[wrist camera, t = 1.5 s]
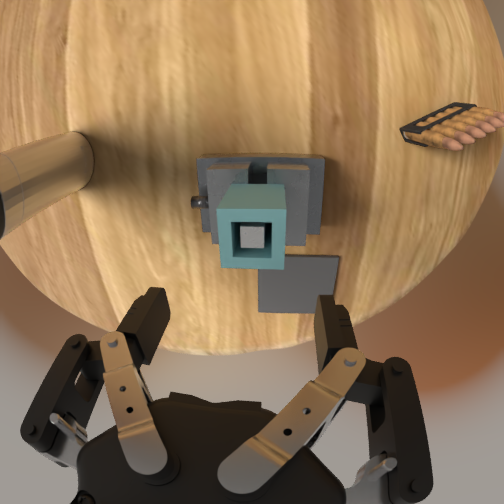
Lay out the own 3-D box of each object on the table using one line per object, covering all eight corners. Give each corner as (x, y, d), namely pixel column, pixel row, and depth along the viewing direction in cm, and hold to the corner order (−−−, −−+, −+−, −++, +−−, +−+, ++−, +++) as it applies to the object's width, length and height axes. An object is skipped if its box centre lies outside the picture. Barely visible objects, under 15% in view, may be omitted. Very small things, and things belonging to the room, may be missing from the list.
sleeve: (233, 231, 28) (221, 267, 22) (231, 183, 25) (216, 208, 19) (282, 232, 27) (283, 269, 21) (284, 184, 25) (286, 209, 19)
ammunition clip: (455, 101, 23) (514, 109, 13) (460, 114, 24) (519, 126, 14) (398, 128, 27) (453, 142, 16) (404, 141, 28) (459, 161, 17)
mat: (258, 309, 42) (258, 312, 41) (258, 253, 37) (258, 255, 36) (328, 311, 41) (328, 313, 40) (338, 255, 36) (339, 257, 36)
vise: (206, 222, 35) (172, 281, 24) (201, 154, 31) (156, 183, 19) (316, 224, 34) (334, 287, 22) (320, 154, 30) (349, 183, 18)
